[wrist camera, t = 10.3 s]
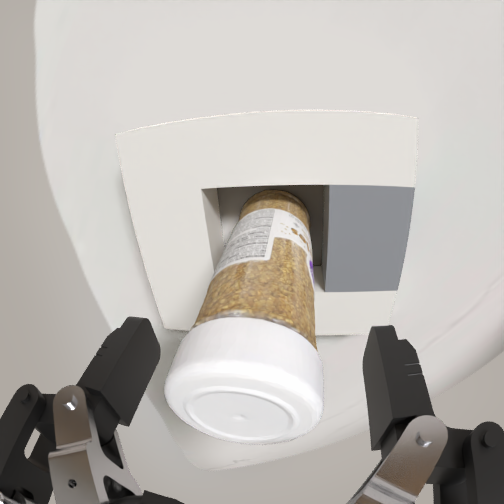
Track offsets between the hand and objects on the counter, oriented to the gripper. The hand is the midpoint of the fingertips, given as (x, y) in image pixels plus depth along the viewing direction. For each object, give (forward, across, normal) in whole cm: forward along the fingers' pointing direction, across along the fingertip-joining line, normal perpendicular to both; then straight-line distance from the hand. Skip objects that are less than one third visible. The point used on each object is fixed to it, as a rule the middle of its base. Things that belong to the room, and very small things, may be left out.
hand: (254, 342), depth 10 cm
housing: (+10, 0, 0) cm, 10 cm away
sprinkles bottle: (+10, 0, 0) cm, 10 cm away
